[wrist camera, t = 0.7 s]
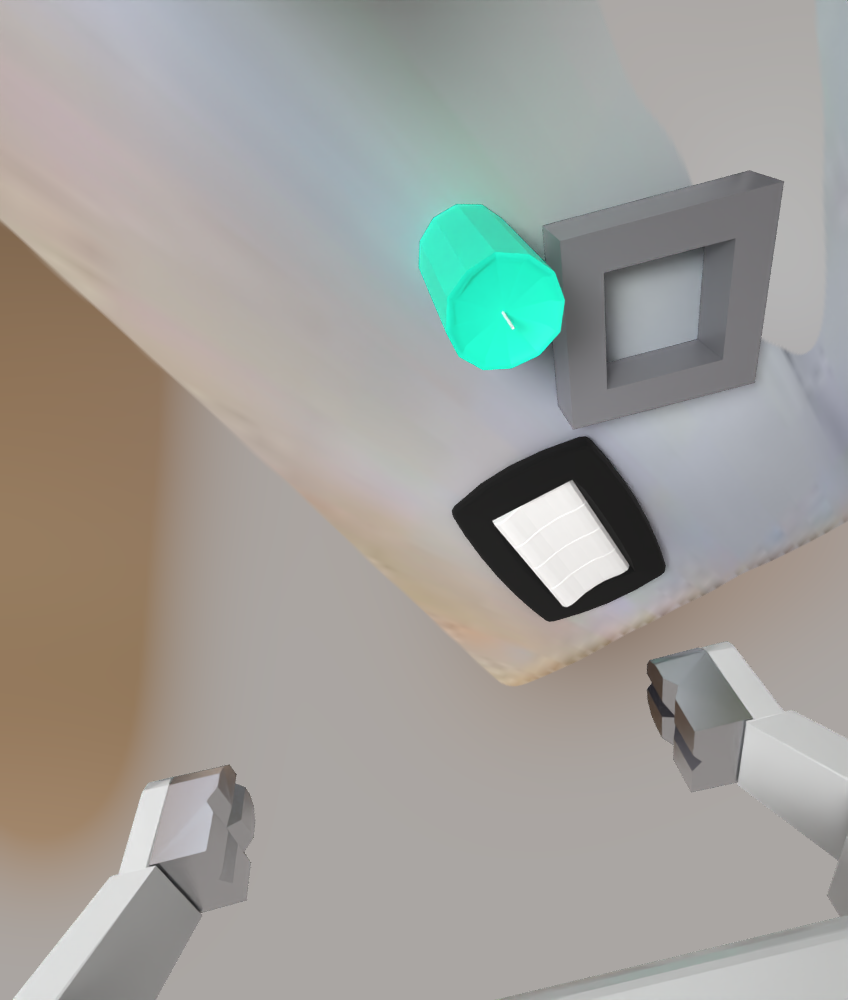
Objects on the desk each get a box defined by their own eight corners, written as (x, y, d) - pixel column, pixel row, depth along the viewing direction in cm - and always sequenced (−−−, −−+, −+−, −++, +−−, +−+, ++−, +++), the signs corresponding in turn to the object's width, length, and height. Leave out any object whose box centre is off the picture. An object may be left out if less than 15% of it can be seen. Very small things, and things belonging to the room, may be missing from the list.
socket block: (542, 225, 37) (560, 241, 34) (749, 170, 37) (783, 181, 34) (558, 405, 45) (573, 429, 43) (728, 361, 45) (754, 382, 42)
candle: (527, 219, 37) (597, 282, 27) (491, 312, 40) (543, 397, 31) (434, 188, 35) (476, 244, 26) (405, 288, 38) (432, 371, 29)
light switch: (437, 521, 49) (597, 436, 44) (435, 498, 51) (587, 415, 46) (546, 639, 60) (683, 581, 55) (541, 615, 62) (671, 558, 57)
